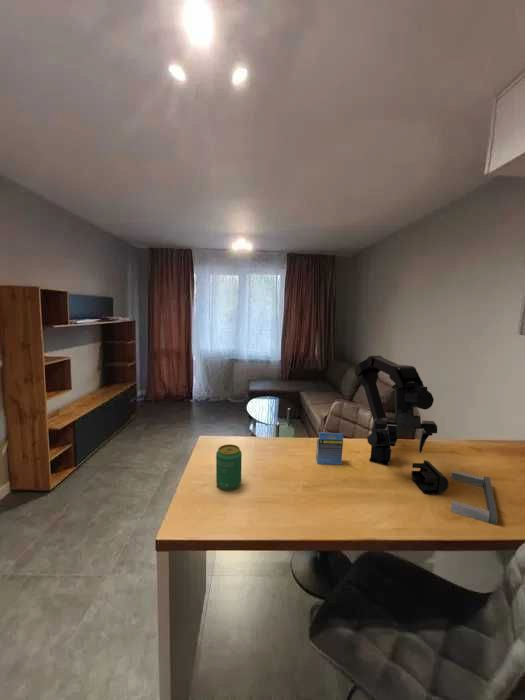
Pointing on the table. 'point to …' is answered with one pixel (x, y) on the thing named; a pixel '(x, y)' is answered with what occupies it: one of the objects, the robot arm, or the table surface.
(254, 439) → the table surface
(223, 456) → the beverage can
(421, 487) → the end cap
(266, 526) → the table surface
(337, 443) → the label tape box
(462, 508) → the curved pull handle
